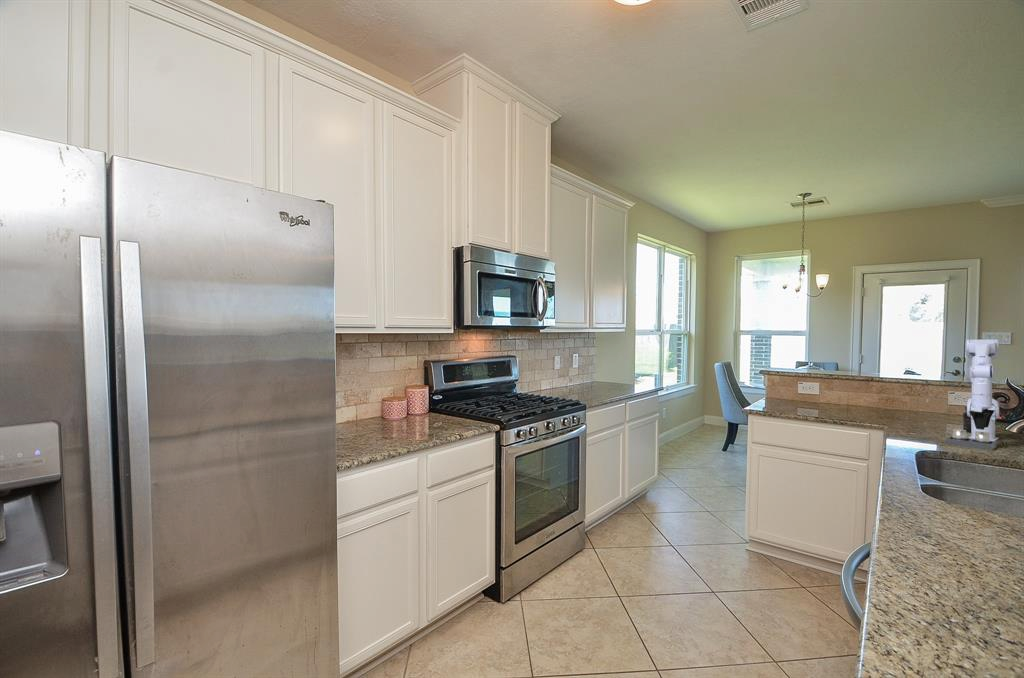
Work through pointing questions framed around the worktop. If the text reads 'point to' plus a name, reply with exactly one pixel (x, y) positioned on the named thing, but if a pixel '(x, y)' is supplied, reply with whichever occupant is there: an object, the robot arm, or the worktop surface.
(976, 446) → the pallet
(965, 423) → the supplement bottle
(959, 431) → the billet
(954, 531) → the worktop surface
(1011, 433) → the worktop surface
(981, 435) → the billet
